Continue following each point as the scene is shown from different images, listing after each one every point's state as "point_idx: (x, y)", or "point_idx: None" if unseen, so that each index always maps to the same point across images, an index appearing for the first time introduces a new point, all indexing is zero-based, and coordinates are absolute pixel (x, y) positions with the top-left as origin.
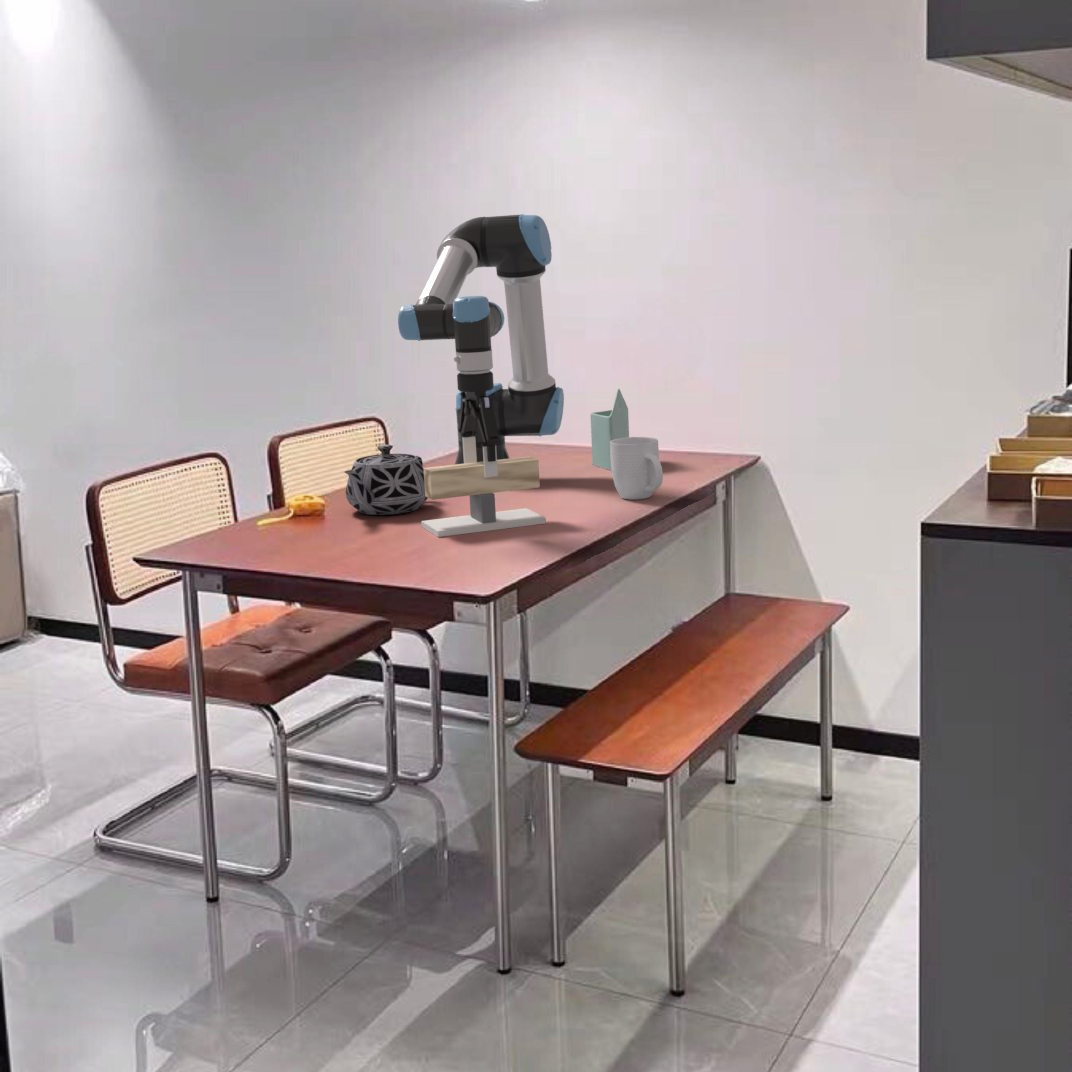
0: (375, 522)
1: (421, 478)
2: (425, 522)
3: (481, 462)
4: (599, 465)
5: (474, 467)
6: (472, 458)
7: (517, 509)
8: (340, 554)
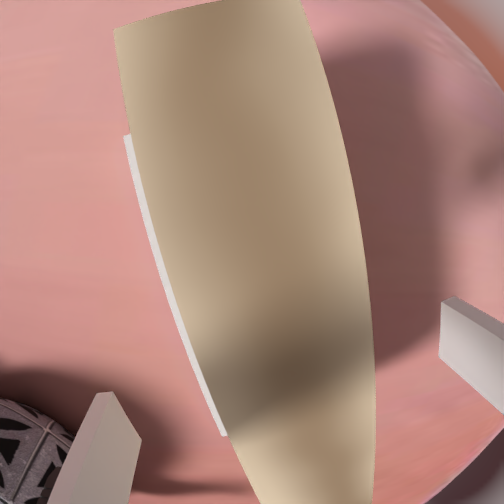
0: (152, 483)
1: (20, 455)
2: None
3: (253, 410)
4: None
5: (372, 427)
6: (113, 442)
7: (134, 166)
8: (387, 488)
